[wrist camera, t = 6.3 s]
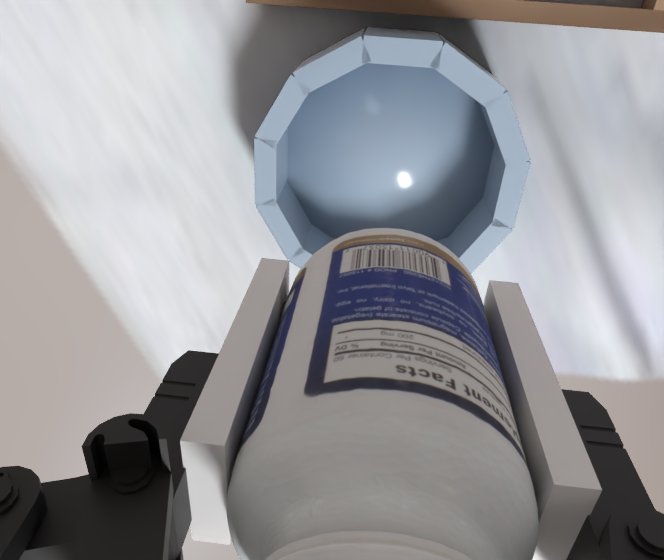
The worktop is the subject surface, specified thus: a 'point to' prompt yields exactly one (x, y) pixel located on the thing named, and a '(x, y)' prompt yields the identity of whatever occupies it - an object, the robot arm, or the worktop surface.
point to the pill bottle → (382, 417)
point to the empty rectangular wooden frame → (507, 11)
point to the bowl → (391, 147)
